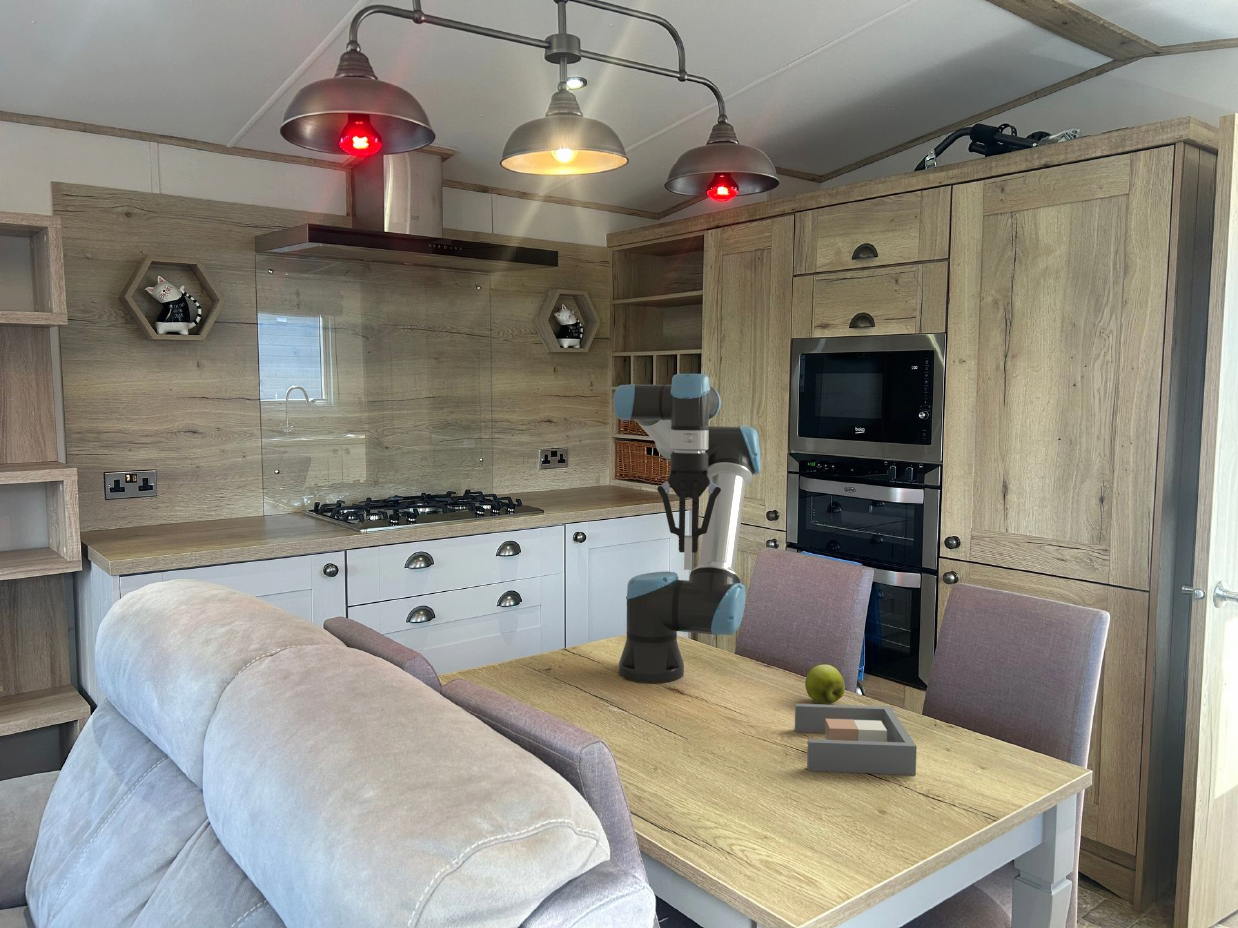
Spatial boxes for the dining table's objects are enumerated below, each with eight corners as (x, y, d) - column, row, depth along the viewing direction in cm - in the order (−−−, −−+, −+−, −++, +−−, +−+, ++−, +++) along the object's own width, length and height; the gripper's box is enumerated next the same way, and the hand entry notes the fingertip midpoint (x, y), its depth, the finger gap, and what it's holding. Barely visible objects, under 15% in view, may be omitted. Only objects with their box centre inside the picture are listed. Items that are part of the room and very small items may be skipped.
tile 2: (852, 746, 167) (853, 719, 167) (880, 747, 167) (881, 720, 166) (857, 756, 162) (858, 729, 162) (886, 757, 162) (887, 730, 161)
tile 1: (824, 744, 167) (825, 718, 167) (852, 745, 167) (853, 719, 167) (829, 755, 162) (829, 728, 162) (857, 756, 162) (858, 729, 162)
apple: (828, 694, 196) (829, 658, 196) (852, 708, 188) (853, 670, 187) (796, 698, 194) (797, 661, 193) (819, 711, 185) (820, 673, 184)
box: (794, 728, 175) (795, 703, 175) (889, 732, 174) (890, 706, 174) (808, 770, 155) (808, 742, 155) (915, 774, 154) (916, 746, 154)
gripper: (656, 452, 178) (654, 571, 179) (723, 452, 177) (721, 572, 179) (657, 450, 185) (656, 564, 187) (721, 450, 184) (719, 565, 186)
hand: (687, 568), depth 183 cm, fingers closed
